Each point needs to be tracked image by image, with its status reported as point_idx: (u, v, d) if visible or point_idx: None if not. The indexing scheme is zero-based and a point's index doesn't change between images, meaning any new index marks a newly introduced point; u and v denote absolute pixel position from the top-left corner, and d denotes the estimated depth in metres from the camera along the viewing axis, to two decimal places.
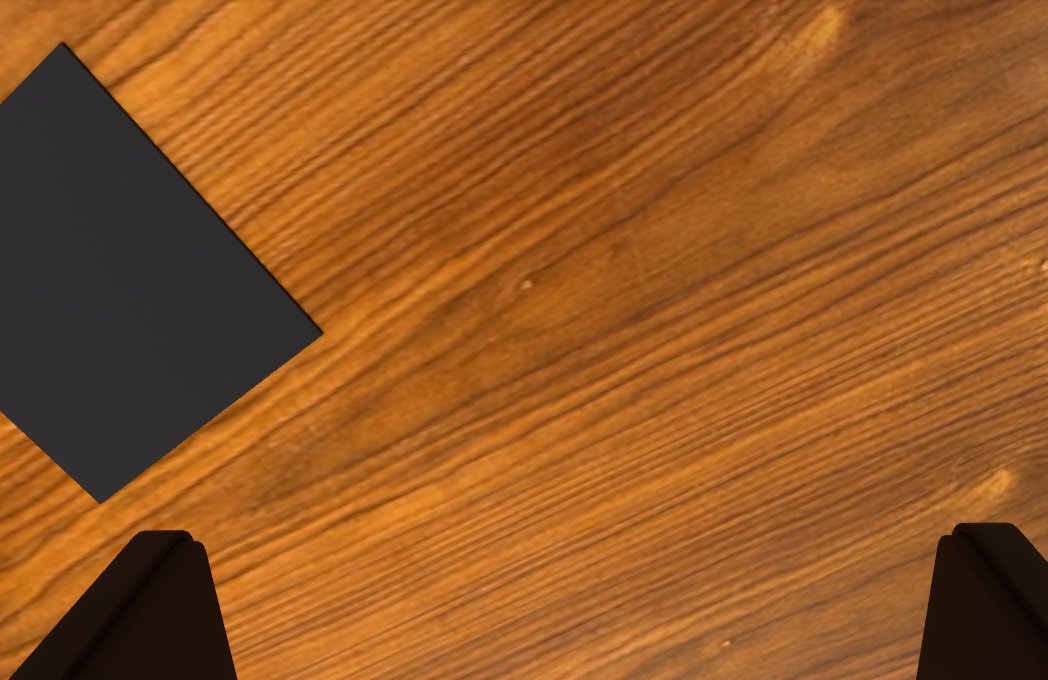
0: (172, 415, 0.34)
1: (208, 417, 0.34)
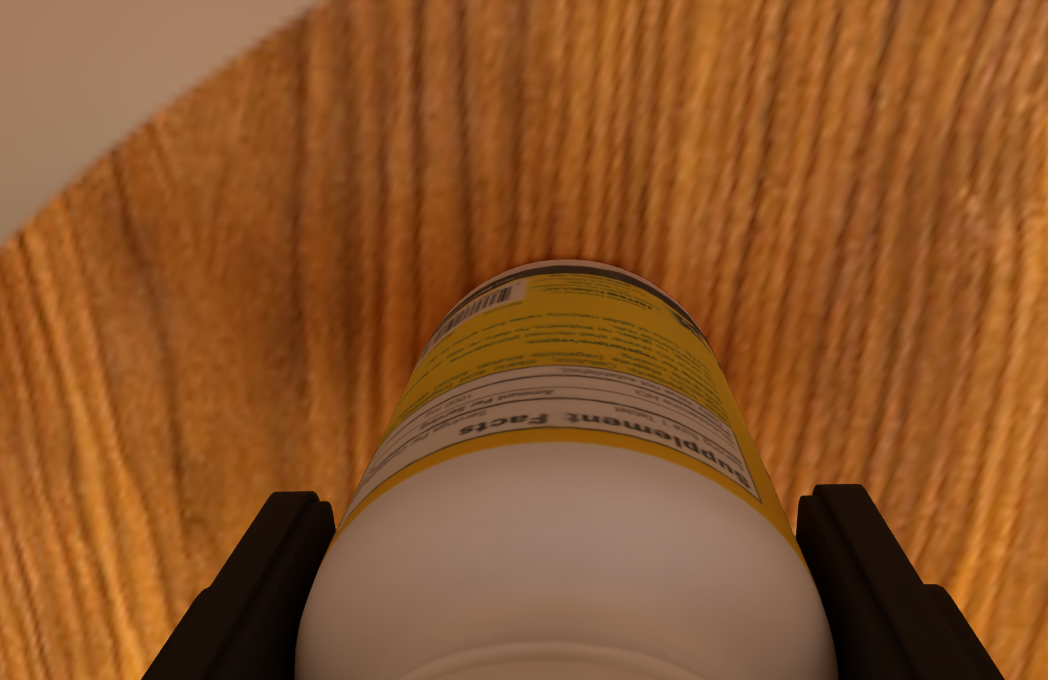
0: None
1: None
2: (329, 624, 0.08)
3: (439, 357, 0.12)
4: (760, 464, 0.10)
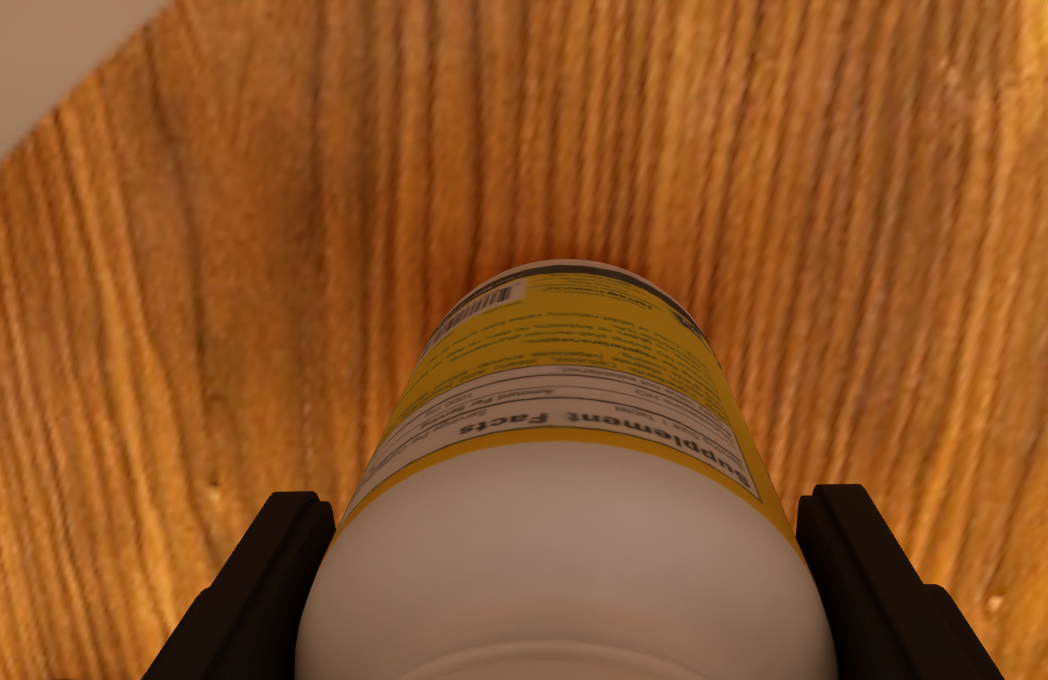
0: None
1: None
2: (329, 622, 0.08)
3: (439, 357, 0.12)
4: (760, 464, 0.10)
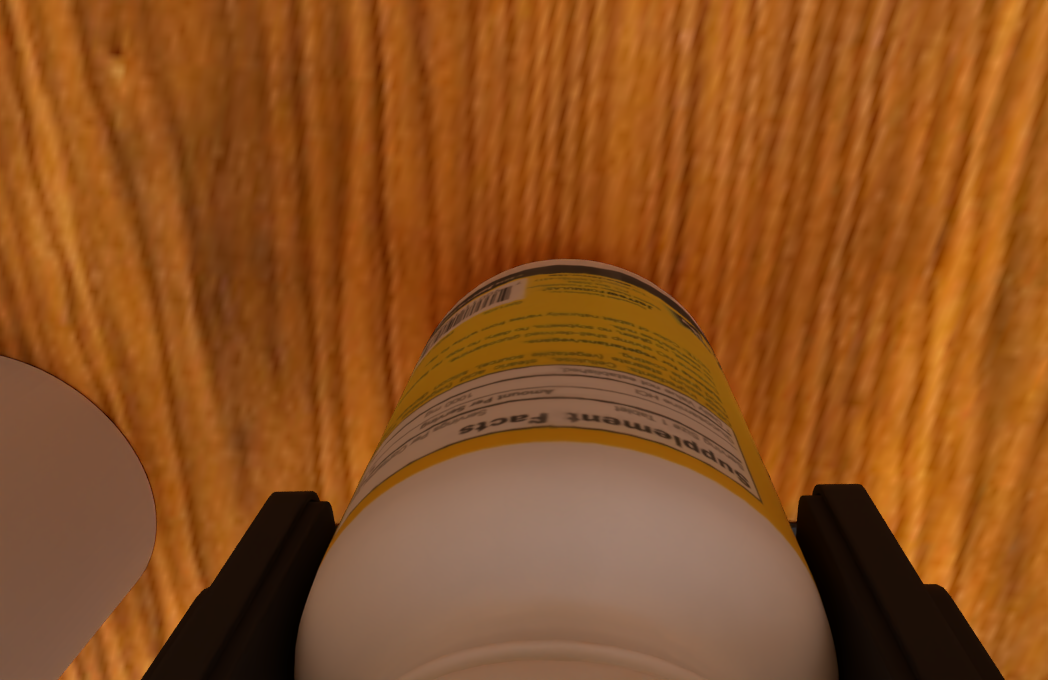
0: None
1: None
2: (329, 623, 0.08)
3: (439, 357, 0.12)
4: (760, 464, 0.10)
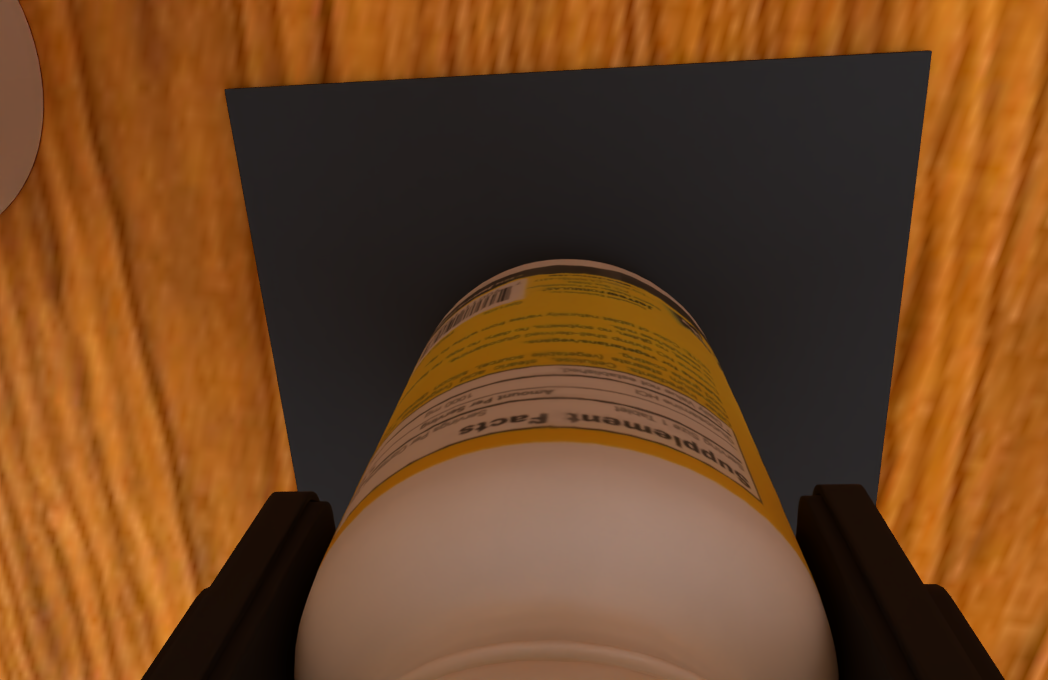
0: (835, 421, 0.18)
1: (885, 369, 0.17)
2: (329, 624, 0.08)
3: (439, 357, 0.12)
4: (760, 464, 0.10)
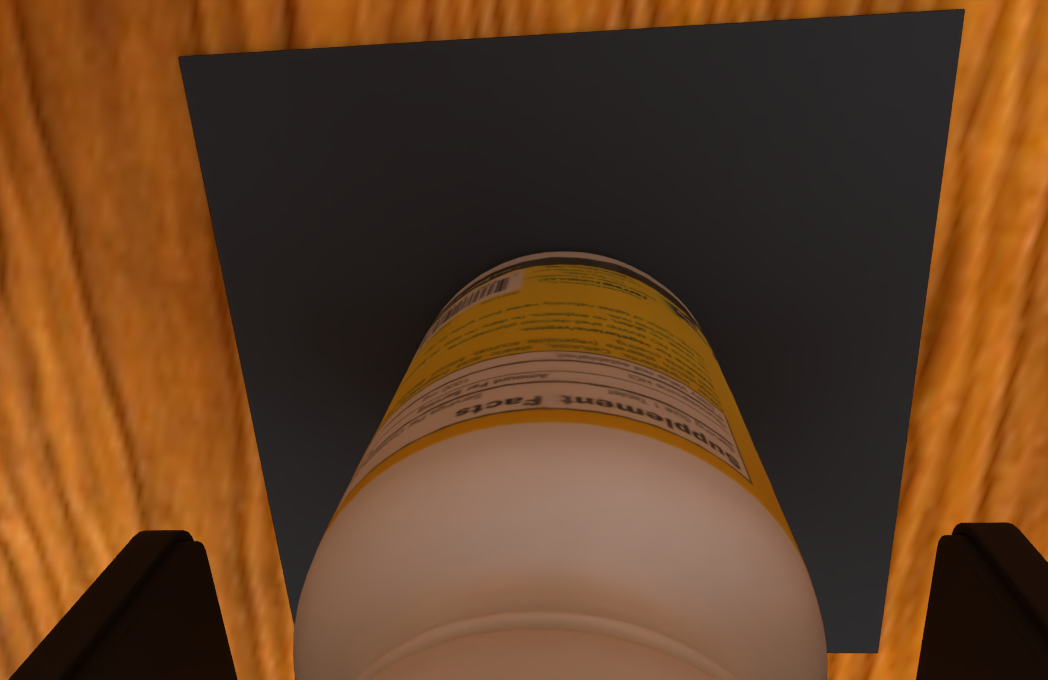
0: (853, 421, 0.16)
1: (909, 365, 0.16)
2: (327, 599, 0.08)
3: (437, 345, 0.12)
4: (752, 449, 0.10)
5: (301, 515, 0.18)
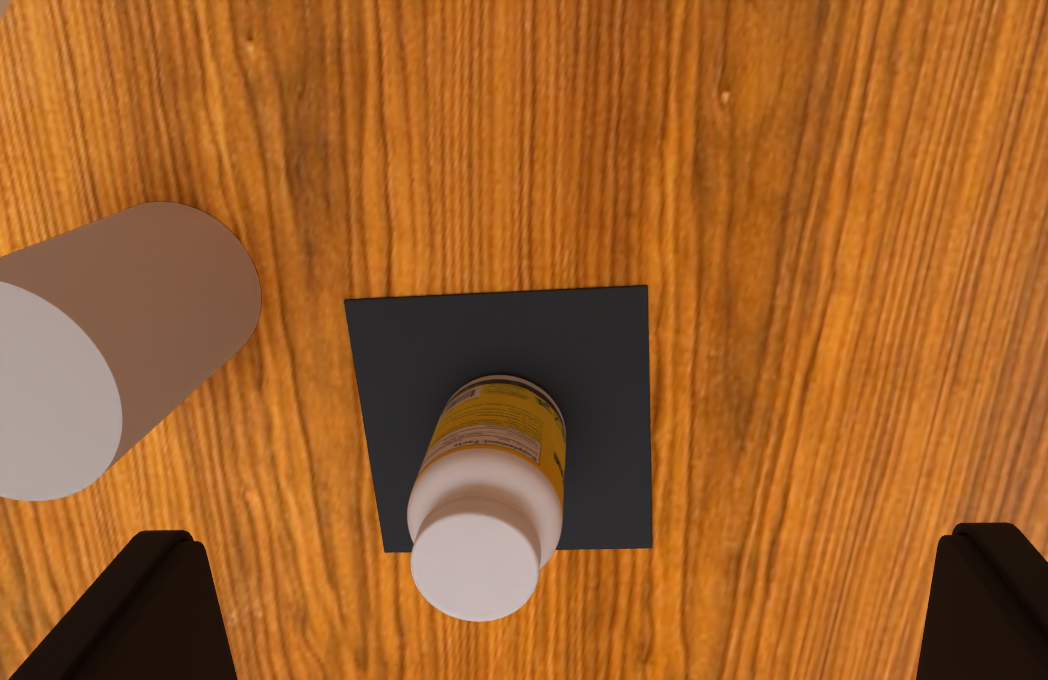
0: (626, 442, 0.38)
1: (647, 418, 0.38)
2: (419, 497, 0.30)
3: (448, 419, 0.34)
4: (550, 455, 0.32)
5: (387, 487, 0.40)
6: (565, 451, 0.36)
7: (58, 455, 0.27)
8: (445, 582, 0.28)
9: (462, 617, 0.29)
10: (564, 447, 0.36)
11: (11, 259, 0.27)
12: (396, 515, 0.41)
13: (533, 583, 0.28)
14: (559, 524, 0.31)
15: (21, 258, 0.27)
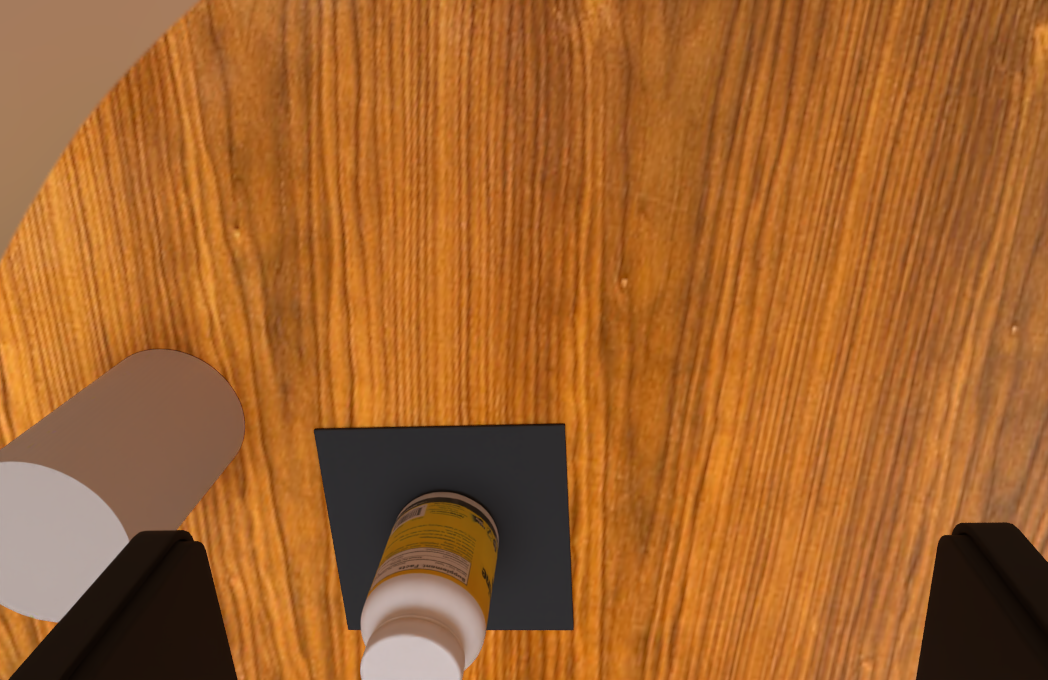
0: (550, 546, 0.46)
1: (566, 527, 0.45)
2: (369, 612, 0.38)
3: (397, 536, 0.42)
4: (478, 572, 0.40)
5: (350, 577, 0.48)
6: (496, 557, 0.44)
7: (82, 590, 0.34)
8: None
9: None
10: (494, 556, 0.43)
11: (46, 436, 0.34)
12: (358, 600, 0.48)
13: None
14: (482, 633, 0.38)
15: (53, 435, 0.34)
